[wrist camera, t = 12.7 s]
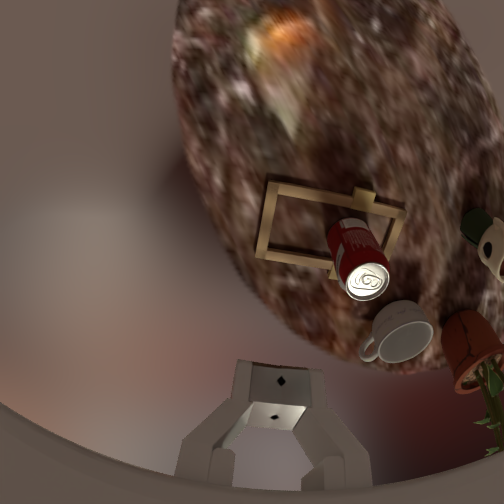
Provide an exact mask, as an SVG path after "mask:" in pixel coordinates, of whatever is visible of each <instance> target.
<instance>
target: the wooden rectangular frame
mask: <svg viewBox="0 0 504 504" xmlns="http://www.w3.org/2000/svg"><path fill="white" fill-rule="evenodd" d="M278 194H281V195H287V196H292V197H298V198H303V199H308V200H314V201H319V202H324V203H329V204H333V205H338V206H343V207H348V208H351V209H355V210H359V211H364V212H368V213H375V214H379V215H383V216H388V217H392V218H393V220H392V223H391V226H390V228H389V231H388V234H387V237H386V239H385V242H384V245H383V247H382V251H383V253H384V254H385V256H386V258H387V260H388V262H389V259H390V257H391V254H392V252H393V249H394V247H395V244H396V242H397V239H398V236H399V234H400V231H401V228H402V226H403V223H404V220H405V217H406V215H407V210H406V209H403V208H399V207H395V206H392V205H388V204H384V203H380V202H375V201H374V199H375V195H376V193H375V192H374V191H372V190H368V189H364V188H360V187H356V186H355V187H354V190H353V194H352V196H350V195H345V194H341V193H336V192H331V191H327V190H322V189H317V188H312V187H307V186H302V185H296V184H291V183H286V182H280V181H274V180H269V181H268V186H267V192H266V198H265V203H264V209H263V215H262V220H261V226H260V231H259V237H258V242H257V248H256V254H255V258H261V259H267V260H273V261H279V262H286V263H292V264H298V265H304V266H310V267H316V268H323V269H329V272H328V278H329V279H336V280H338V278H337V275H336V271H335V268H334V264H333V261H332V258H327V257H321V256H316V255H310V254H304V253H298V252H292V251H286V250H280V249H274V248H268V247H267V246H268V241H269V236H270V231H271V226H272V220H273V215H274V210H275V205H276V200H277V195H278Z"/></svg>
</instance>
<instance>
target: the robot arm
mask: <svg viewBox="0 0 504 504" xmlns="http://www.w3.org/2000/svg"><path fill="white" fill-rule="evenodd" d="M246 426H251V427H262V428H274V429H283V430H293V431H292V432H293V434H294V435H295V437H296V439H297V440H298V442H299V444H300V445H301V447H302V448H303V450H304V452H305V453H306V455H307V457H308V458H309V460H310V462H311V463H312V465H313V466H314V468H313V469H312V470H311V471H310V472H309V473H308V474H306V475H305V476H304V477H303V478H302V479H301V491H280V490H262V489H250V488H240V487H232V480H233V471H234V462H235V453H234V452H233V451H232V450H230V449H227V448H228V447H229V446H230V444H231V443H232V442H233V441H234V440H235V438H237V437H238V435H239V434H240V433H241V432H242V431H243V429H244V428H245V427H246ZM0 504H504V451H501V452H499V453H497V454H494V455H492V456H489V457H487V458H484V459H481V460H479V461H476V462H473V463H471V464H468V465H464V466H462V467H458V468H455V469H452V470H448V471H445V472H441V473H438V474H434V475H430V476H426V477H421V478H417V479H412V480H407V481H403V482H398V483H391V484H385V485H378V486H373V485H372V476H371V467H370V459H369V453H368V452H367V451H366V450H365V448H364V447H363V446H362V445H361V444H360V443H359V441H358V440H357V439H356V438H355V437H354V436H353V434H352V433H351V432H350V431H349V429H348V428H347V427H346V426H345V425H344V423H343V422H342V421H341V420H340V419H339V417H338V416H337V415H336V414H335V412H334V411H333V410H332V409H331V408H327V399H326V390H325V380H324V372H323V370H321V369H310V368H303V367H292V366H282V365H280V366H277V365H271V364H264V363H258V362H252V361H246V360H240V359H238V360H237V364H236V369H235V374H234V379H233V385H232V391H231V397H230V399H229V398H227V399H226V400H225V401H224V402H223V403H222V404H221V405H220V406H219V407H218V408H217V409H216V410H215V411H214V412H212V414H210V415H209V416H208V417H207V418H206V419H205V420H204V421H203V422H202V423H201V424H200V425H199V426H197V427H196V428H195V429H194V430H193V431H192V432H191V433H190V434H189V435H187V436H186V437H185V438H184V439H183V440H182V445H181V449H180V453H179V457H178V461H177V466H176V470H175V474H174V476H171V475H167V474H163V473H159V472H155V471H152V470H148V469H145V468H141V467H138V466H134V465H131V464H128V463H125V462H122V461H119V460H117V459H114V458H111V457H108V456H106V455H103V454H100V453H98V452H95V451H93V450H90V449H87V448H85V447H83V446H81V445H78V444H76V443H74V442H72V441H69V440H67V439H65V438H63V437H61V436H59V435H57V434H54V433H53V432H51V431H49V430H47V429H45V428H43V427H41V426H39V425H37V424H36V423H34V422H32V421H30V420H29V419H27V418H25V417H23V416H22V415H20V414H18V413H17V412H15V411H13V410H11V409H10V408H8V407H7V406H5V405H4V404H2V403H1V402H0Z"/></svg>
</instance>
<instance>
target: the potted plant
mask: <svg viewBox="0 0 504 504" xmlns="http://www.w3.org/2000/svg"><path fill="white" fill-rule="evenodd" d="M441 344H442V349H443V353H444V356H445V358H446V361H447V363H448V366H449V368H450V370H451V373H452V375H453V378H454V382H453V385H454V389H455V391H456V392H457V393H458V394H467V393H471V392H473V391H476V390H478V389H480V388H481V390H482V393H483V396H484V399H485V402H486V405H487V409H488V410H486V416H485V419H484V420H482V421H479V422H476V423H478V424H484V423H488V422H490V421H491V422H492V425H491V426H487V427H489V428H490V429H491V428H493V430H494V434H495V438H496V442H497V448H491V449H486V450H488V451H489V452H490V453H489V454H487V455H490V454H492V453H493V452H495V451H497V450H498V451H499V452H501V451H504V448H503V443H502V439H501V435H500V431H499V427H498V426H499V425H500V424H499V423H501V427H502V434H503V442H504V411H503V408H502V405H501V401H500V399H499V395H498V393H499V392H501V391H502V390H503V383H504V374H503V373H502V370H503V369H504V344H502V343H501V341H500V340H499V338H498V336H497V335H496V333H495V331H494V330H493V328H492V327H491V325H490V324H489V322H488V321H487V320H486V319H485V318H484V317H483V316H482V315H481V314H480V313H479V312H477V311H474V310H470V309H464V310H461V311H458V312H456V313H454V314H453V315H452V316H451V317H450V318H449V319H448V320H447V322H446V323H445V325H444V327H443V329H442V335H441ZM501 380H502V381H501ZM502 382H503V383H502ZM485 385H487V387H488V392H489V395H488V392H487V389H486V386H485ZM487 455H486V456H487Z"/></svg>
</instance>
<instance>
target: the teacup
mask: <svg viewBox="0 0 504 504" xmlns="http://www.w3.org/2000/svg"><path fill="white" fill-rule="evenodd" d="M432 336H433V327H432V325H431V324H430V323H429V321H428V319H427V317H426V315H425V314H424V312H423V310H422V309H421V308H420V306H419V305H418V304H416V303H415V302H413V301H409V300H400V301H395V302H392V303H390V304H388V305H386V306H385V307H384V308H383V309H382V310H381V311H380V312H379V313H378V314H377V315H376V317H375V319H374V321H373V325H372V332H371V333H370V335H369V337H368V338H367V339H366V340H365V341H364V342H363V344H362V345H361V347H360V349H359V356H360V358H361V359H362V360H363V361H366V362H370V361H373V360H374V359H375V358H376V357H377V356H379V357H380V358H381V359H382V360H383V361H385V362H389V363H396V362H402V361H405V360H408V359H410V358H412V357H414V356H416V355H417V354H419V353H420V352H421V351H423V350H424V349H425V348H426V347H427V345H428V344H429V343H430V341H431V339H432ZM373 341H375V345H374V351H373V353H372V354H370V355H365V354H364V353H365V350H366V348H367V347H368V346H369V344H370V343H371V342H373Z"/></svg>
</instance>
